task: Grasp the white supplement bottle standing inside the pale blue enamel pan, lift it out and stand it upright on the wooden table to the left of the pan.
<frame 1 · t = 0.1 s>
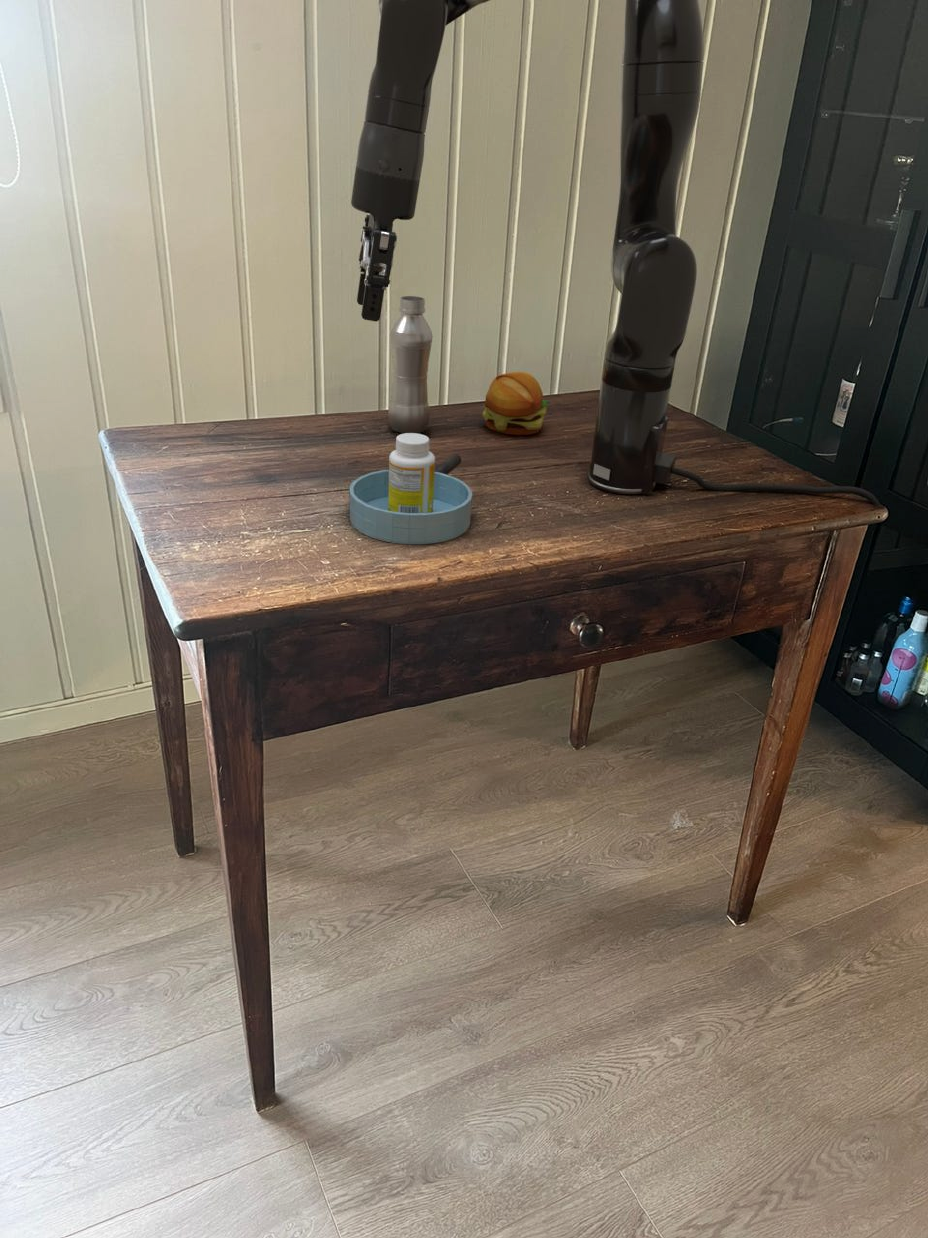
hand: (367, 312, 117), 22 cm above the table, tool pointing down, fingers open, 8 cm apart
pan: (410, 518, 118), on the table
cheeseburger: (513, 430, 152), on the table
pan handle: (445, 467, 126), point 2 cm above the table
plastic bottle: (408, 432, 148), on the table
supplement bottle: (410, 518, 118), resting on pan
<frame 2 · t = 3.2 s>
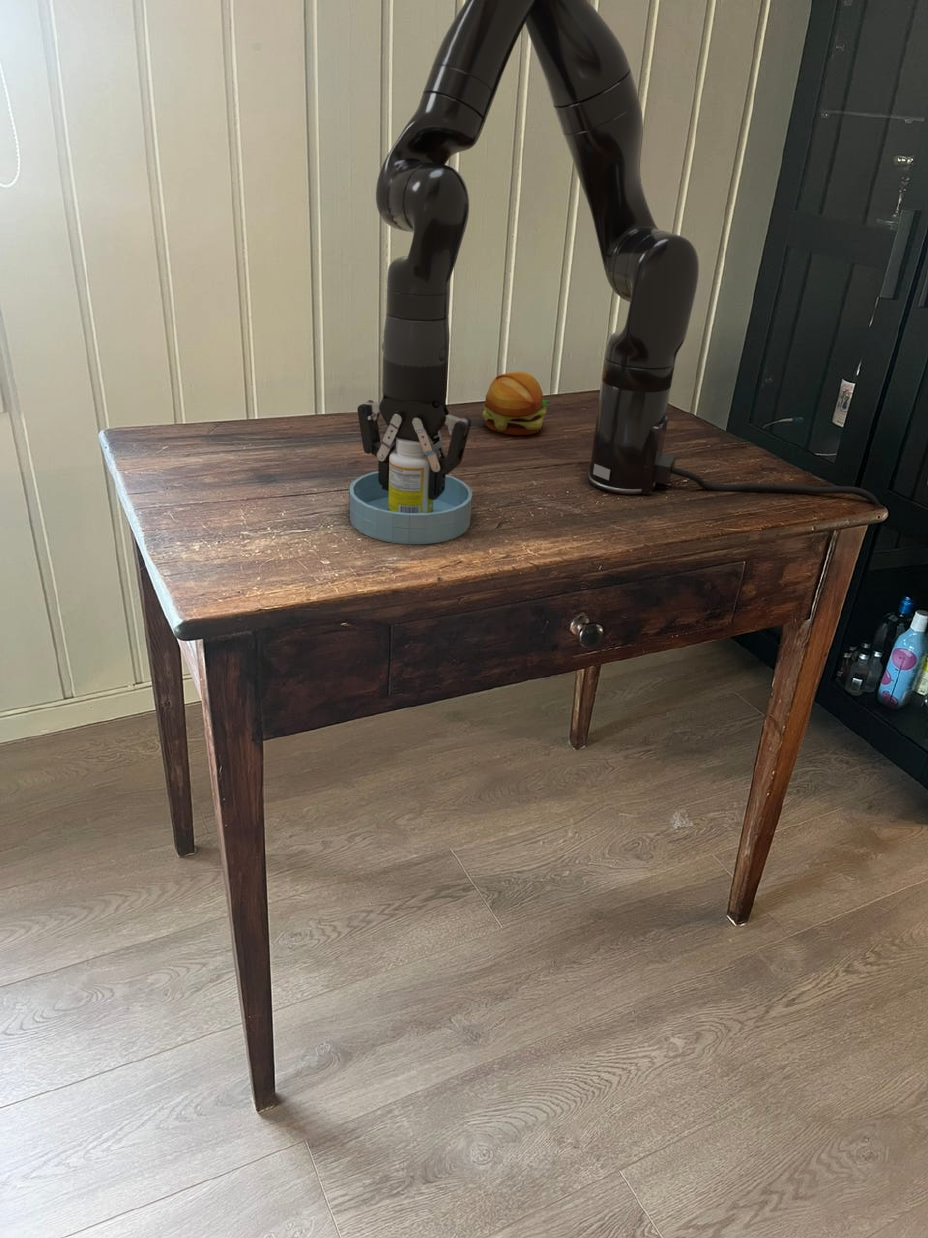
hand: (410, 492, 116), 4 cm above the table, tool pointing down, fingers closed on supplement bottle, 5 cm apart
supplement bottle: (410, 518, 118), resting on pan, touching gripper
everything else where it was.
when the fingers open (3 cm above the table, at t = 10.7 s): supplement bottle stays where it is, on the table.
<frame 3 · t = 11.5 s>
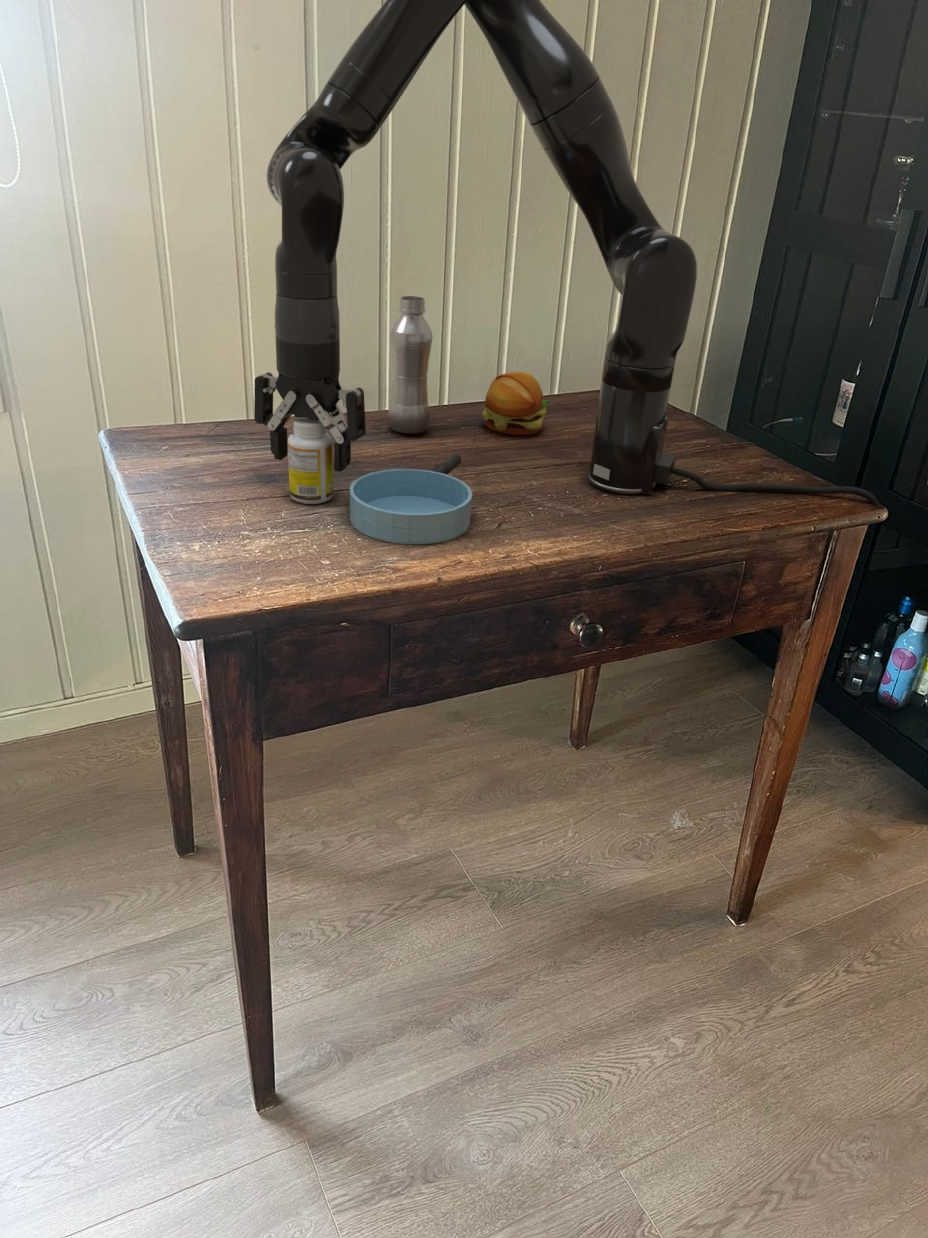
hand: (310, 463, 120), 5 cm above the table, tool pointing down, fingers open, 8 cm apart
supplement bottle: (311, 499, 122), on the table
everything else where it was.
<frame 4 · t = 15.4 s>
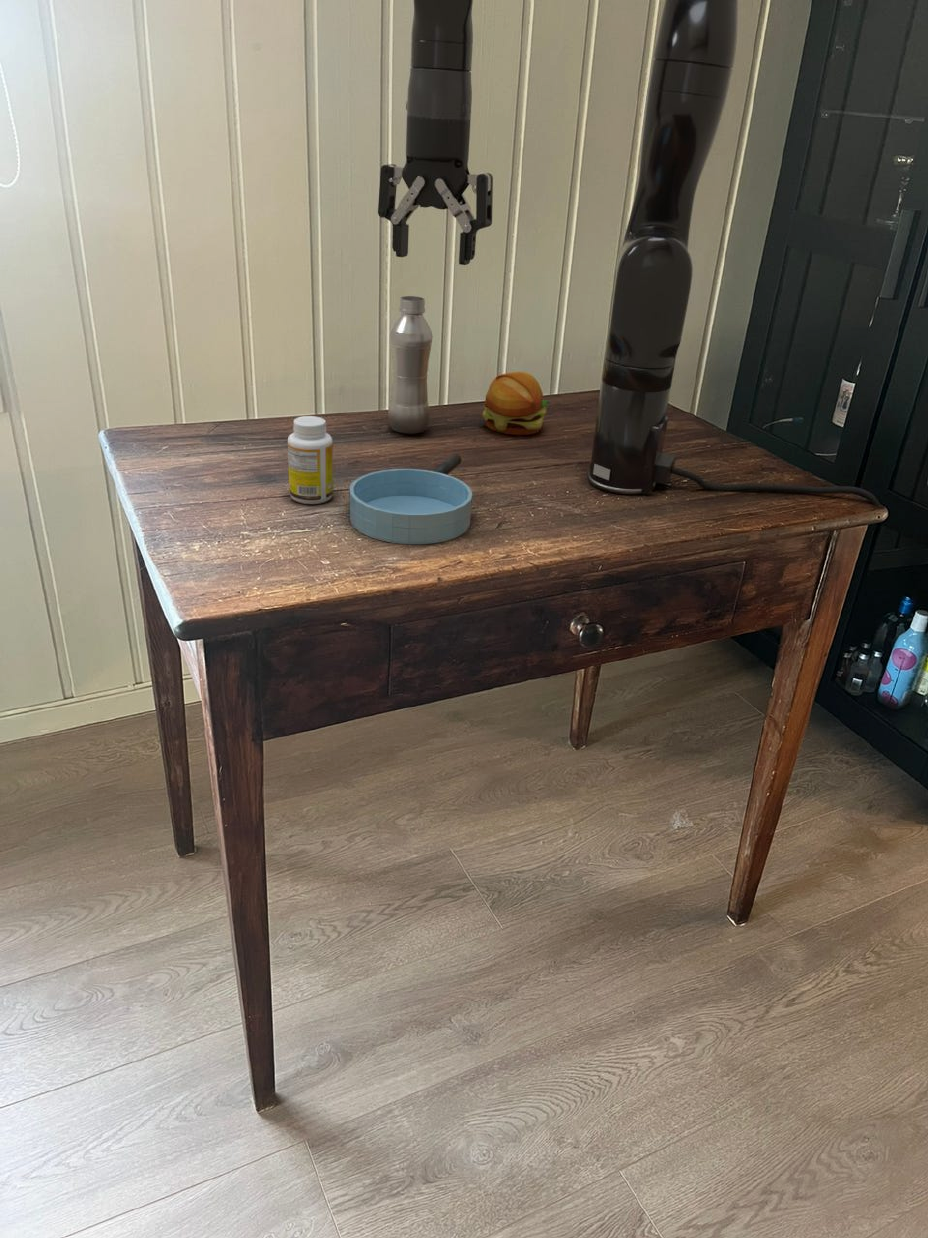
hand: (432, 260, 119), 28 cm above the table, tool pointing down, fingers open, 8 cm apart
nothing on the table moved.
at the end: supplement bottle inside the target area (0.6 cm from its centre), on the table; supplement bottle tilted 0°; supplement bottle touching table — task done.
